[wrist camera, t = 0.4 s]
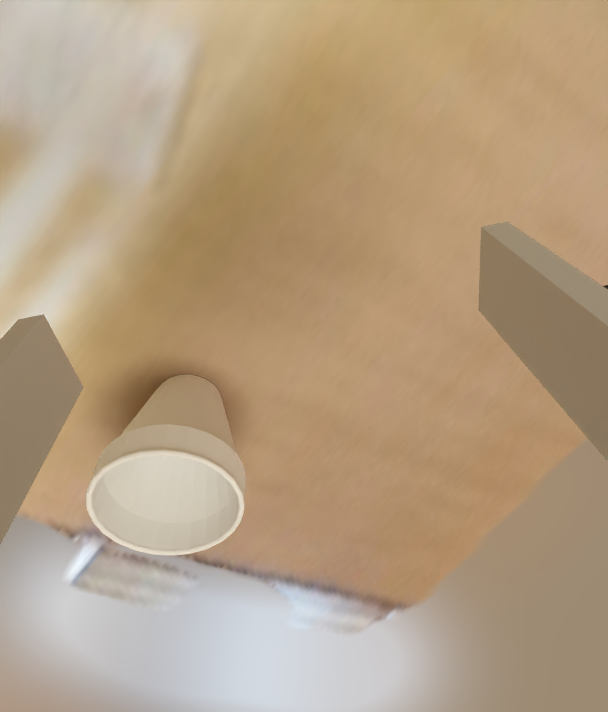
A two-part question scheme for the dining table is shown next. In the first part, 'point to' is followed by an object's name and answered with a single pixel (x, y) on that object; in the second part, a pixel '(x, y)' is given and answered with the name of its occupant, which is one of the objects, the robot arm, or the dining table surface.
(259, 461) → the dining table surface
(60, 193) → the dining table surface
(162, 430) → the cup
